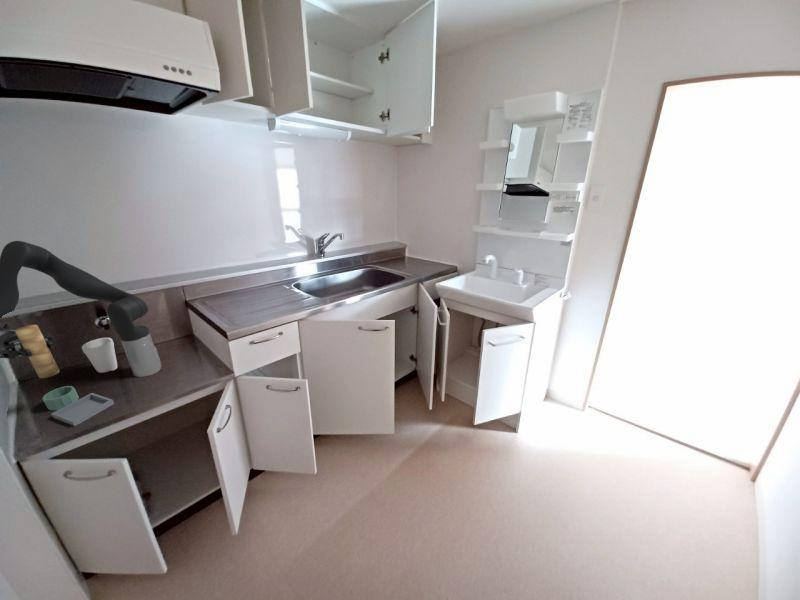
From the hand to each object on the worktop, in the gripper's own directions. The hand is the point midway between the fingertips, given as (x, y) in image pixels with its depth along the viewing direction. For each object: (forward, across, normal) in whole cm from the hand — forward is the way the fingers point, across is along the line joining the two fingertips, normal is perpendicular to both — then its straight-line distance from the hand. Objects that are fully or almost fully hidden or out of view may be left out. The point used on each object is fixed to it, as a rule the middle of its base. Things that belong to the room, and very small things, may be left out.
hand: (41, 349), depth 103 cm
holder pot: (-3, 0, +24) cm, 24 cm away
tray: (+9, 0, +24) cm, 26 cm away
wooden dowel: (-3, 0, +10) cm, 11 cm away
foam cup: (-13, +20, +24) cm, 33 cm away
